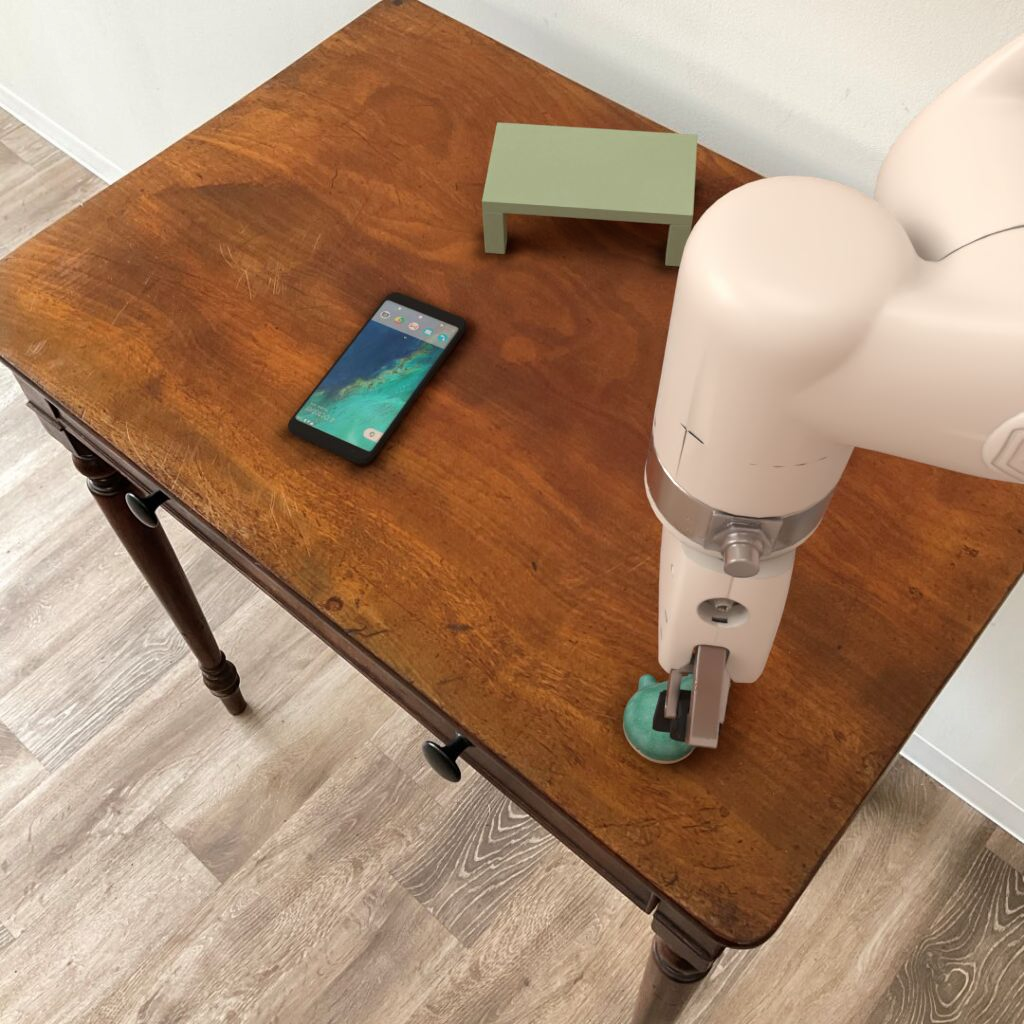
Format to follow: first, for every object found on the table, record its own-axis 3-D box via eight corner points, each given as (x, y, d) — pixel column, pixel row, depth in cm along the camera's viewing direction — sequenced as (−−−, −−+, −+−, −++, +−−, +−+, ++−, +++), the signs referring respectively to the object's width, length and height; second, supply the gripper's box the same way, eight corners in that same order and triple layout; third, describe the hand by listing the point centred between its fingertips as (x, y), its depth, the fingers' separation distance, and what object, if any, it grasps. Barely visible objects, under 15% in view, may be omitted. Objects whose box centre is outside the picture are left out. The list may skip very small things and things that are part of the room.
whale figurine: (599, 722, 68) (602, 698, 65) (681, 647, 70) (687, 621, 67) (669, 790, 66) (675, 769, 62) (751, 710, 68) (761, 686, 65)
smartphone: (470, 319, 84) (366, 464, 77) (471, 325, 85) (367, 470, 78) (391, 287, 86) (281, 427, 79) (392, 294, 87) (284, 433, 80)
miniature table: (690, 188, 92) (697, 134, 87) (685, 267, 87) (693, 215, 83) (499, 175, 93) (497, 122, 89) (485, 253, 89) (481, 200, 84)
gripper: (843, 672, 40) (756, 811, 54) (831, 308, 48) (759, 512, 63) (633, 649, 40) (603, 793, 55) (659, 293, 49) (628, 498, 64)
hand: (687, 642), depth 59 cm, fingers open, 9 cm apart
